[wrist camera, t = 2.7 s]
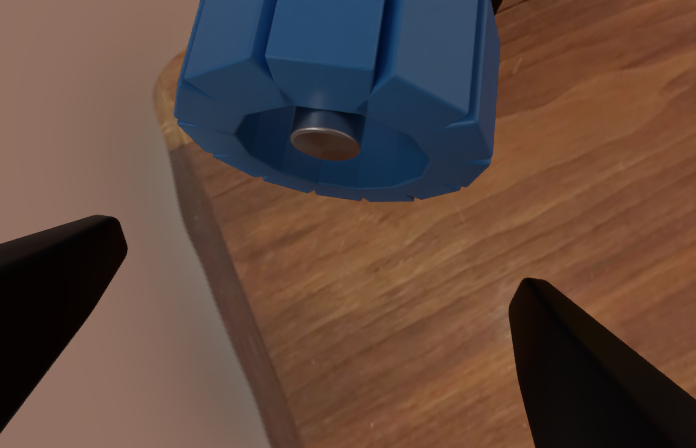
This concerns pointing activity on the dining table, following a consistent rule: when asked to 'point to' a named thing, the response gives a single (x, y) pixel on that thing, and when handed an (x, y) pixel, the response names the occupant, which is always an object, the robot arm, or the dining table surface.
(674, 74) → the dining table surface
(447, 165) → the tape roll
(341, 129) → the hook
